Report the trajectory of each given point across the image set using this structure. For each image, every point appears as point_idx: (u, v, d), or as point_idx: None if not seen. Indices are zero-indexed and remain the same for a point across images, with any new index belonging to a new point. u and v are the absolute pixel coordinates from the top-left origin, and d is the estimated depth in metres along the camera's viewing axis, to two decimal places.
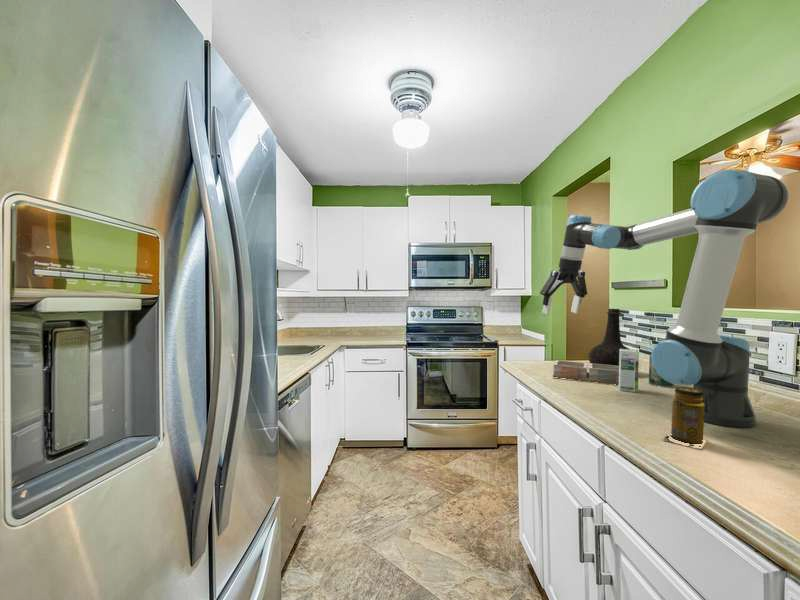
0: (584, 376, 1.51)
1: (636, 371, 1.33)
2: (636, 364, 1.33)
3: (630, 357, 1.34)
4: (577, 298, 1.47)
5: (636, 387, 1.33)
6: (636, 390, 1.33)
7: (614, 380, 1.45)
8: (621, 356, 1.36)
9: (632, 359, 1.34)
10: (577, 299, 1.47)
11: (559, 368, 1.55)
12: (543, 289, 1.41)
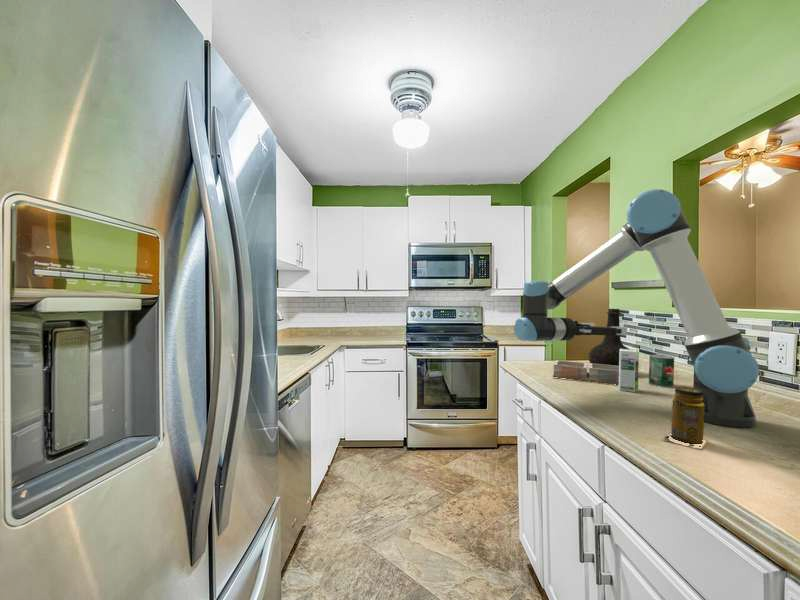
0: (584, 376, 1.51)
1: (636, 371, 1.33)
2: (636, 364, 1.33)
3: (630, 357, 1.34)
4: None
5: (636, 387, 1.33)
6: (636, 390, 1.33)
7: (614, 380, 1.45)
8: (621, 356, 1.36)
9: (632, 359, 1.34)
10: None
11: (559, 368, 1.55)
12: (610, 333, 1.22)
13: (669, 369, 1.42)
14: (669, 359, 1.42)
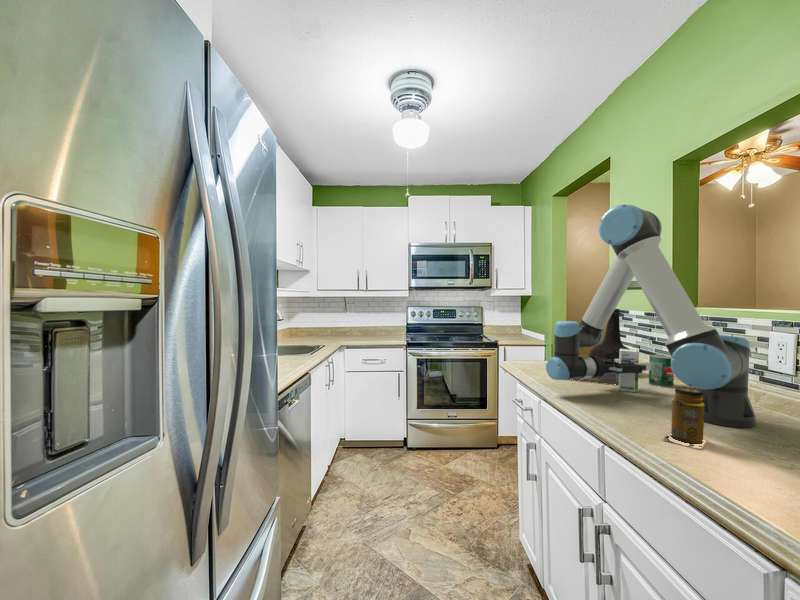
0: None
1: None
2: None
3: (630, 357, 1.34)
4: (617, 361, 1.40)
5: (636, 387, 1.33)
6: (636, 390, 1.33)
7: (614, 380, 1.45)
8: (621, 356, 1.36)
9: (632, 359, 1.34)
10: (617, 360, 1.40)
11: None
12: (638, 370, 1.28)
13: (669, 369, 1.42)
14: (669, 359, 1.42)
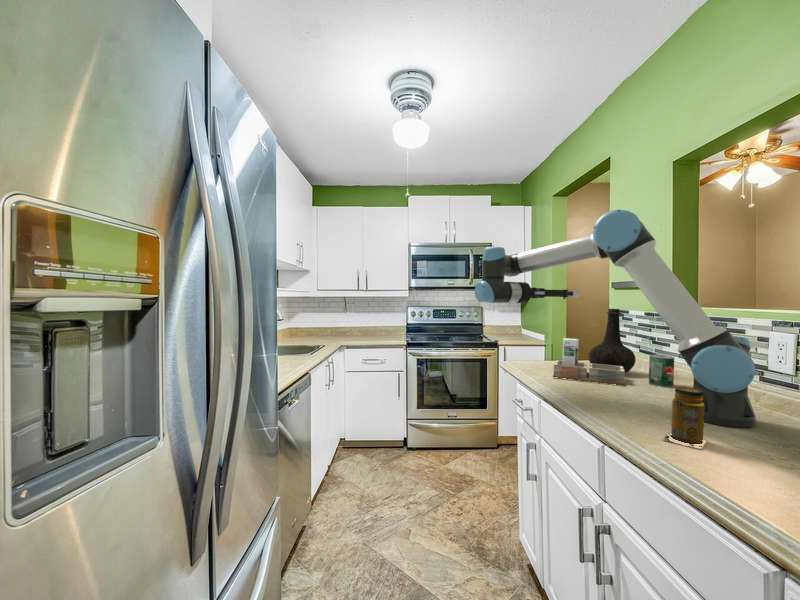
0: (584, 376, 1.51)
1: (576, 357, 1.56)
2: (575, 351, 1.56)
3: (570, 345, 1.56)
4: None
5: None
6: None
7: (614, 380, 1.45)
8: (564, 344, 1.58)
9: (572, 347, 1.56)
10: None
11: (559, 368, 1.55)
12: (562, 294, 1.33)
13: (669, 369, 1.42)
14: (669, 359, 1.42)
